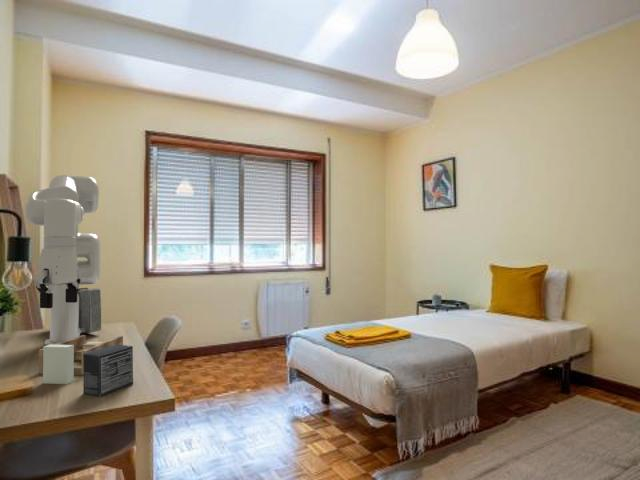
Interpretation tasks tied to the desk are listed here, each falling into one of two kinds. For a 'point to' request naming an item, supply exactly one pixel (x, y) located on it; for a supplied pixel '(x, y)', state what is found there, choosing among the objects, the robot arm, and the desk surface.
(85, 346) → the offcut
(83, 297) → the decorative stone tablet
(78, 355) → the offcut
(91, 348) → the rack
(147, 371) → the desk surface
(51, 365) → the white box
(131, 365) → the small box
